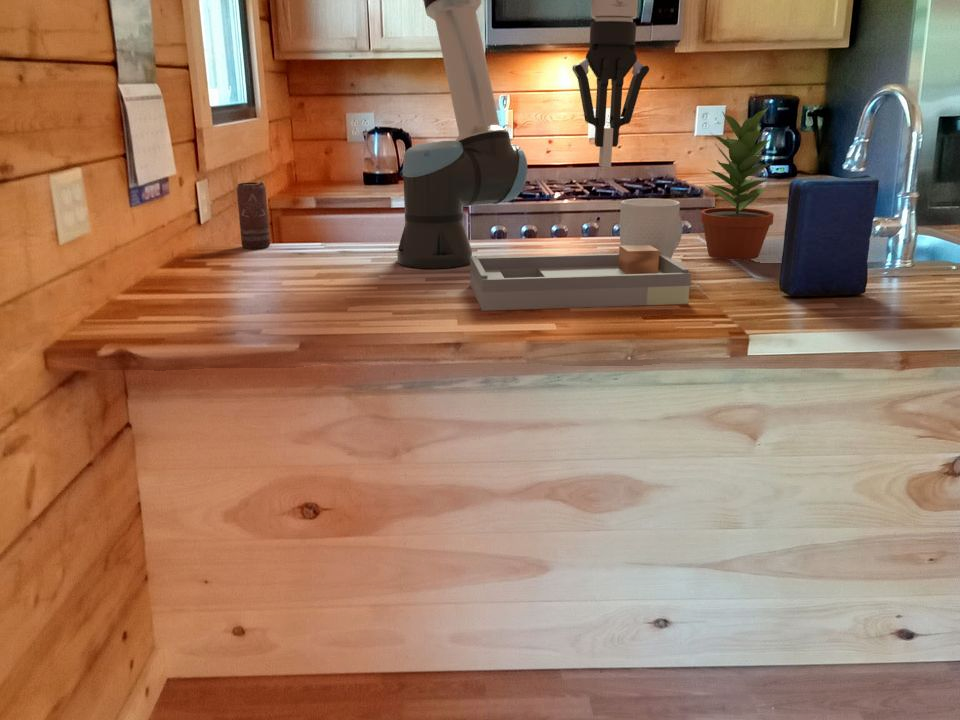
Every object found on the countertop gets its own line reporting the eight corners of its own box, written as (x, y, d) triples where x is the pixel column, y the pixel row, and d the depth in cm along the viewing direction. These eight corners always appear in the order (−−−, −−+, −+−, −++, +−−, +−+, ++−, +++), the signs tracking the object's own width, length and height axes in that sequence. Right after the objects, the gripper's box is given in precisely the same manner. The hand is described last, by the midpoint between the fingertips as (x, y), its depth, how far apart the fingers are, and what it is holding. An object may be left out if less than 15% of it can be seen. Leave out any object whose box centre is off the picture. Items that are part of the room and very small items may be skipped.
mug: (655, 259, 174) (659, 194, 170) (700, 267, 166) (705, 200, 162) (605, 269, 165) (608, 201, 161) (650, 278, 157) (654, 207, 153)
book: (854, 291, 147) (869, 173, 141) (870, 298, 142) (888, 176, 136) (774, 293, 145) (787, 174, 139) (788, 301, 140) (802, 178, 134)
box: (482, 310, 135) (481, 276, 134) (470, 285, 152) (470, 255, 151) (688, 303, 139) (690, 270, 137) (654, 279, 156) (656, 250, 154)
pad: (646, 305, 138) (647, 287, 137) (617, 280, 155) (617, 264, 154) (688, 303, 139) (689, 285, 138) (654, 279, 156) (655, 263, 155)
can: (277, 246, 190) (271, 182, 186) (255, 250, 185) (250, 185, 181) (257, 243, 193) (252, 181, 189) (236, 247, 188) (230, 183, 184)
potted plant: (681, 251, 182) (691, 105, 172) (740, 246, 187) (753, 104, 177) (723, 264, 168) (736, 107, 159) (785, 259, 173) (802, 105, 164)
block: (626, 274, 147) (628, 251, 145) (618, 267, 152) (619, 245, 151) (657, 273, 147) (659, 250, 146) (648, 266, 152) (649, 244, 151)
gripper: (579, 18, 136) (572, 168, 144) (658, 20, 137) (647, 168, 145) (570, 20, 143) (563, 163, 151) (645, 22, 144) (635, 163, 152)
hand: (604, 166), depth 148 cm, fingers closed
